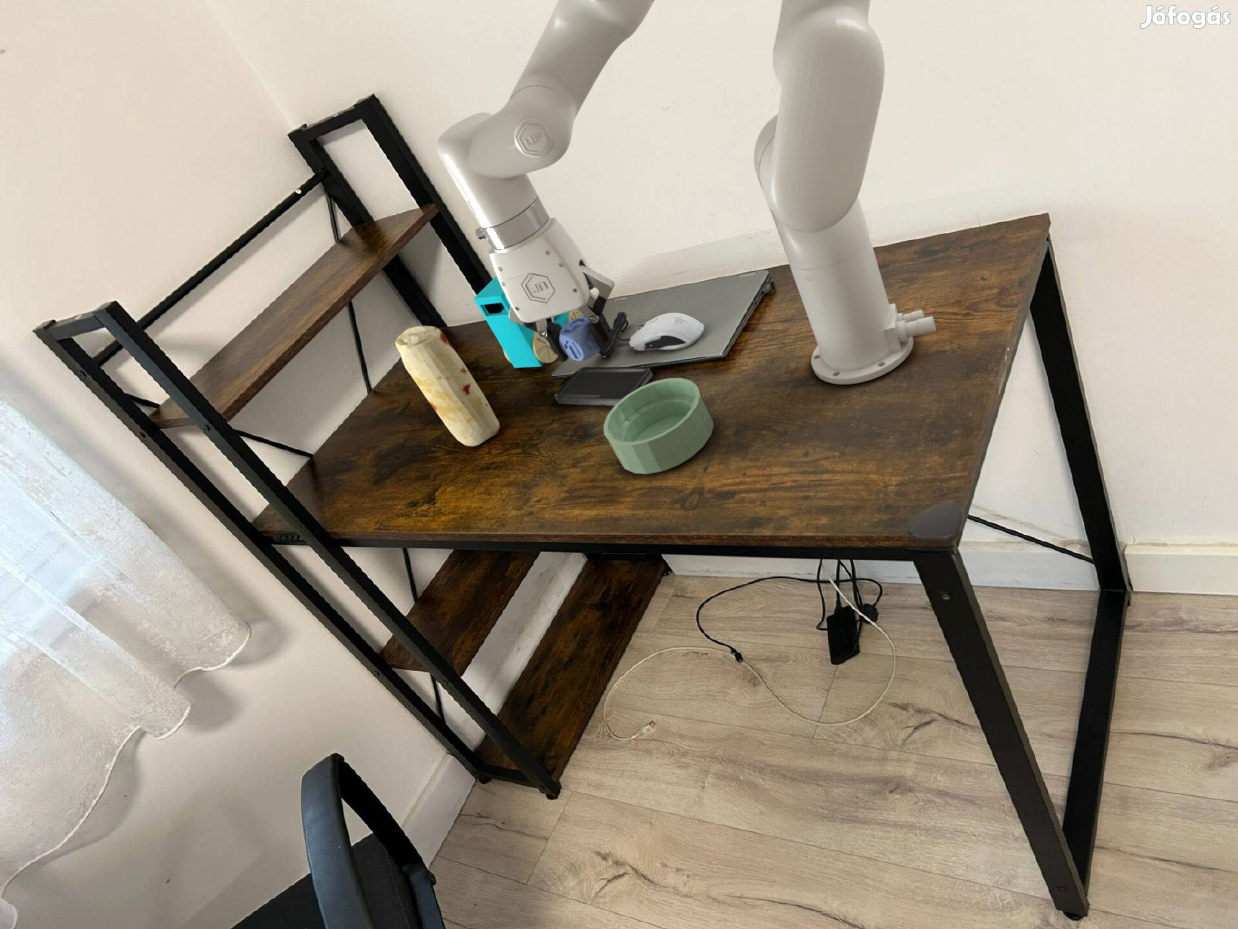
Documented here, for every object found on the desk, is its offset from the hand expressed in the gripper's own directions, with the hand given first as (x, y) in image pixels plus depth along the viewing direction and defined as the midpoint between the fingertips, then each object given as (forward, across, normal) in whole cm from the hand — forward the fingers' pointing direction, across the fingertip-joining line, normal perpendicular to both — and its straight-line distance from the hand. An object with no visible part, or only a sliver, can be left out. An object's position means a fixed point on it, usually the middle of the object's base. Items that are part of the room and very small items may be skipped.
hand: (586, 348), depth 110 cm
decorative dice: (+1, 0, 0) cm, 1 cm away
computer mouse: (+15, -3, +25) cm, 29 cm away
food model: (+14, -30, +8) cm, 34 cm away
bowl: (+15, +5, -3) cm, 16 cm away
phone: (+15, -9, +14) cm, 22 cm away
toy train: (+15, -24, +32) cm, 43 cm away
